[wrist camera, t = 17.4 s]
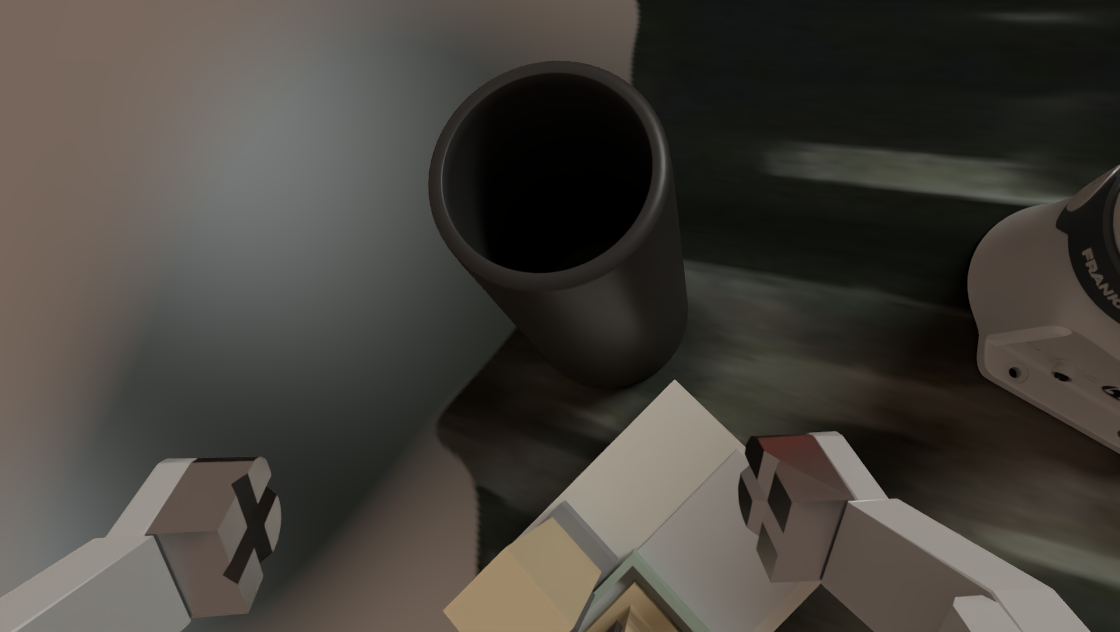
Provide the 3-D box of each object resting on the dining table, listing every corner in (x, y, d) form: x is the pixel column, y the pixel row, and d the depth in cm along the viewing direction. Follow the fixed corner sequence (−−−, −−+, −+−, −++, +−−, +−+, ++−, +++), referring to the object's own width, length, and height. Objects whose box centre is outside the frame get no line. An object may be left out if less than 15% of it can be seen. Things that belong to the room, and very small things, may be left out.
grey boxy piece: (815, 528, 48) (954, 609, 25) (643, 705, 47) (619, 956, 24) (673, 391, 52) (677, 349, 29) (512, 553, 51) (385, 644, 28)
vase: (593, 207, 56) (519, -24, 28) (719, 293, 53) (778, 124, 25) (501, 326, 55) (332, 209, 27) (623, 421, 52) (572, 396, 24)
